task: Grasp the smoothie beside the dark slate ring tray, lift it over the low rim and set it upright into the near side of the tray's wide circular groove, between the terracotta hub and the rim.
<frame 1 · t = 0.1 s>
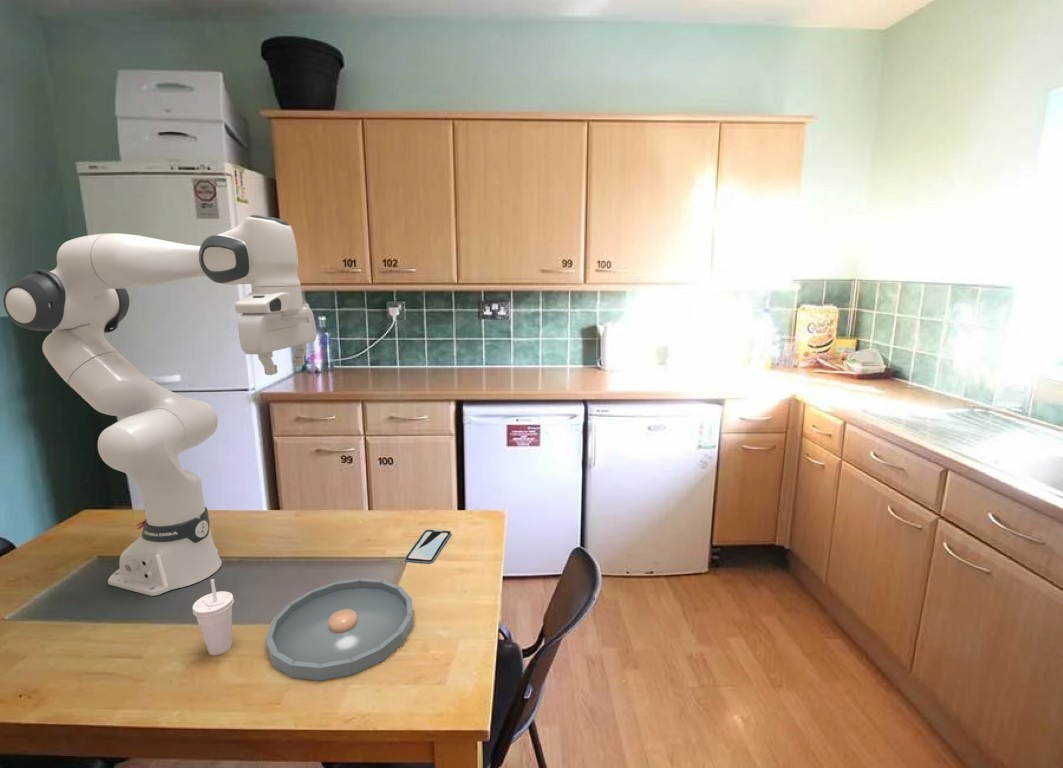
hand: (285, 369, 108), 48 cm above the table, fingers open, 8 cm apart
smoothie: (220, 649, 97), on the table
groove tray: (343, 628, 102), on the table
smartphone: (429, 548, 132), on the table
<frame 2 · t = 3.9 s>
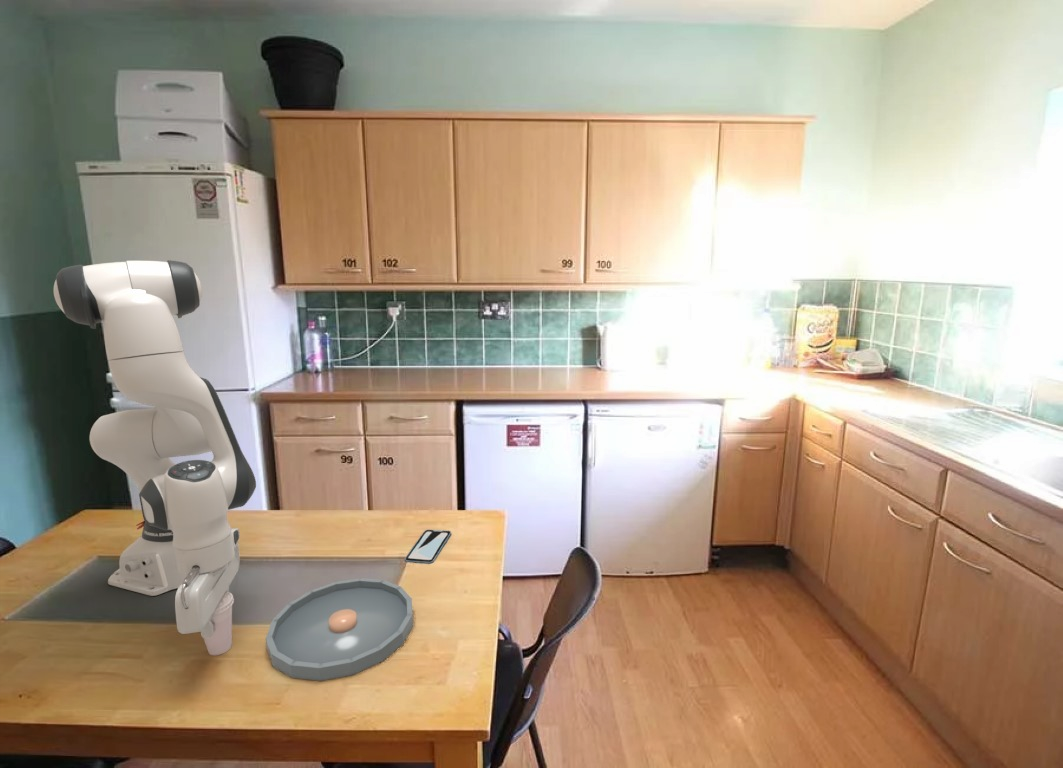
hand: (215, 622, 96), 5 cm above the table, fingers open, 6 cm apart
nothing on the table moved.
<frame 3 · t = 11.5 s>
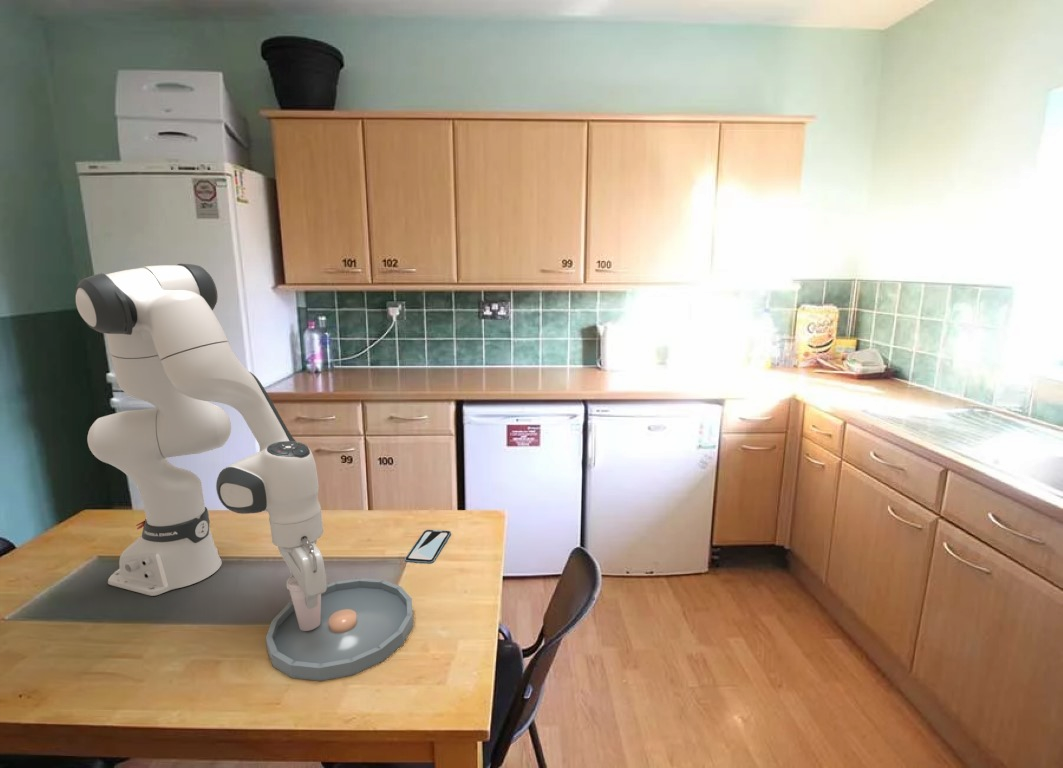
hand: (304, 594, 102), 7 cm above the table, fingers open, 8 cm apart
smoothie: (310, 626, 101), point 1 cm above the table, touching gripper, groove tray
everything else where it was.
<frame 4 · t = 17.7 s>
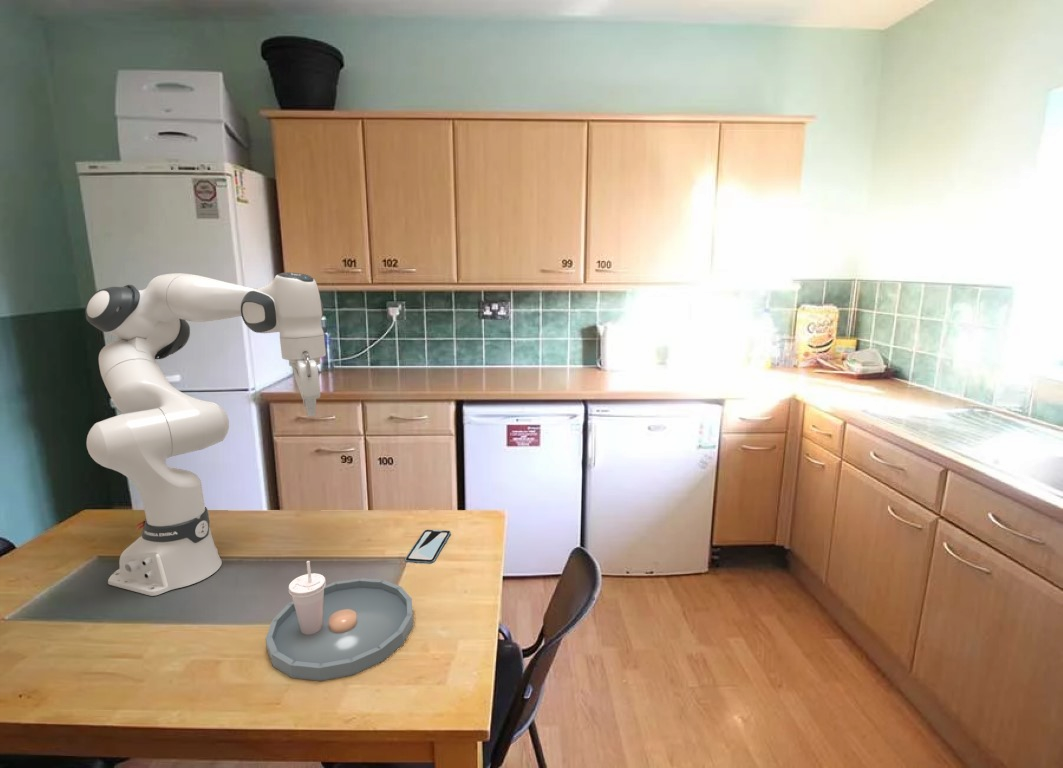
hand: (309, 410, 118), 37 cm above the table, fingers open, 8 cm apart
smoothie: (311, 628, 101), point 1 cm above the table, touching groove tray
everything else where it was.
at the end: smoothie 2.6 cm from the target spot on the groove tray, point 0.8 cm above the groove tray's base; smoothie tilted 1°; the gripper is holding nothing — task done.
